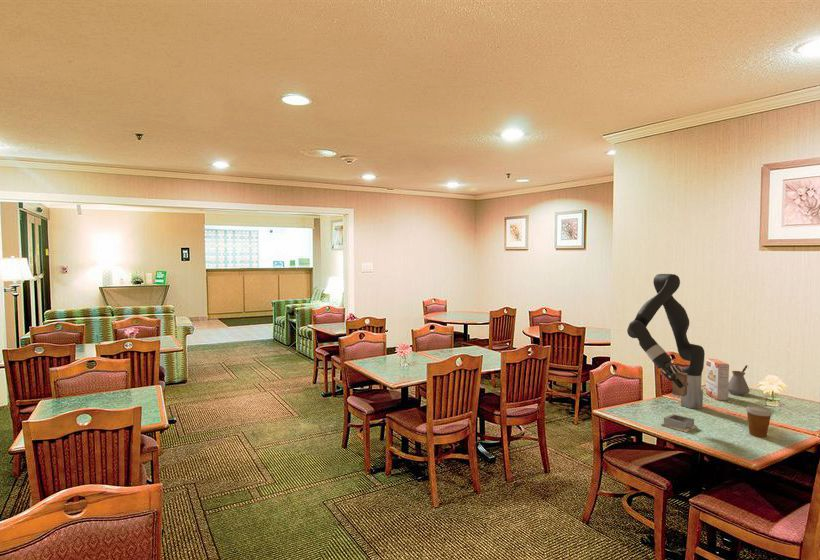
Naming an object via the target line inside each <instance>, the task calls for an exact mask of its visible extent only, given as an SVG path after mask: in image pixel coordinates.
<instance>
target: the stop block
mask: <svg viewBox="0 0 820 560" xmlns="http://www.w3.org/2000/svg"><path fill="white" fill-rule="evenodd" d="M675 375H676V377H677V378H678V379H679V380H680V382H681V383H682V384H683V385H684V386H683V387H682V388H679V387H678V386H677V385H676V384H675V382H673V381H672V393H671V394H672V395H674V396H679V397H681V396H685V395H687V378H688V374H687V373H682V372H675Z"/></svg>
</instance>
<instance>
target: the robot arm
mask: <svg viewBox="0 0 820 560" xmlns="http://www.w3.org/2000/svg"><path fill="white" fill-rule="evenodd" d="M680 285H681V279H680V277H679V276H678V275H677V274H675V273H673V274H672V273H658V274H656V275H655V276H654V277H653V287H654V289H655V291H656V295H654V296H653V297H652V298H650V299H649V300H647V301H646V302H645V303H643V305H642V307H640V309H639V311H638V312H637V314H636V316H635V318H634V319H633V320H632V321H631V322H629V324H628V326H627V329H626V331H627V335H628V337H630V338H632V339H637V340H638V342H639V344H638V345H639V346H640V348H641V349H642V350H643V351H644V353H645V354H646V355H647V357H648V358H649V359H650V360H651V362H653V364H654V365H655V367H657V369H662V370H660V373H661V374H662V375H663V376H664V377H666V379H667V380H669V381H670V382H672V383H673V382H675V384H676V385H677V386H678V387H679V388H682V387H683V386H684V385H683V384H682V383H681V382H680V380H679V379H678V378H677V377H676V375H675V372H682V373H687V374H688V378H687V395H685V396H680V405H681V406H682V407H685V408H688V409H702V408H703V403H704V402H703V401H704V399H703V398H704V389H702V381H703V380H702V379H703V378H702V377H703V370H704V366H705V364H704V363H705V349H704V348H703V346H702V345H699V344H695V343H690V341H689V339H688V336H687V332H688V330H689V327H690V318H689V316H688V313H687V311H686V309H685V308H684V306H683V305H682V304H681V303H680V302H679V301H677V299H676V298H675V297H674V296H673V295H674V293H676V292H677V290H678V289H679V287H680ZM661 307H663V309H664V311H665V314H666V318H667V321H668V322H669V323H668V324H669V325H670V327H671V331H672V333H673V336H674V340H675V344H676V349H677V352H678V355H679V357H680V358H681V360H684V361H689V365H688V366H684V367H682V368H680V367H679V365H678V364H676V365H674V364H673V363H672V360H673V359H672V358H671V356H670V355H669V354H668V353H667V352H666V350H665V349H664V348H663V347H662V346H661V345H659V343H658V342H657V341H656V340H655V339H654V338H653V336H652V335H651V333H650V331H649V330H648V328H647V327H648V325H649V323H650V322H651V321H652V320H653V319H654V316H656V314H657V312H658V311H659V309H660V308H661Z"/></svg>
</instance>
